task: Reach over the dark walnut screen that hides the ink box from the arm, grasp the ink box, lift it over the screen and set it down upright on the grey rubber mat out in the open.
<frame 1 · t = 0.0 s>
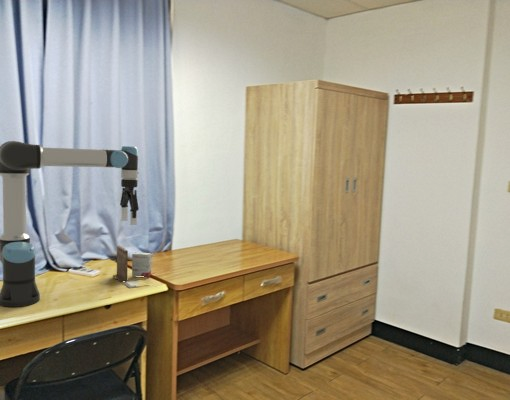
hand: (128, 222, 225), 28 cm above the table, fingers open, 13 cm apart
screen: (121, 278, 229), on the table
ink box: (141, 276, 234), on the table
mat: (135, 284, 220), on the table
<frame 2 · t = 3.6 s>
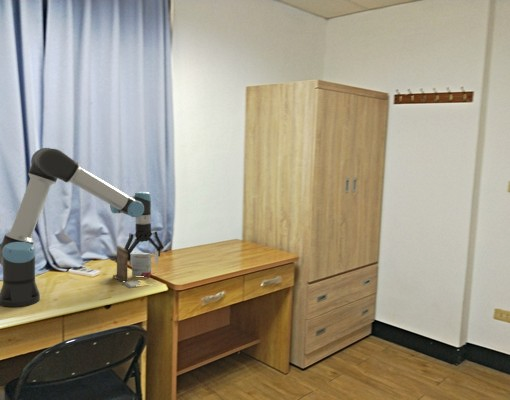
hand: (143, 264, 234), 6 cm above the table, fingers open, 13 cm apart
nothing on the table moved.
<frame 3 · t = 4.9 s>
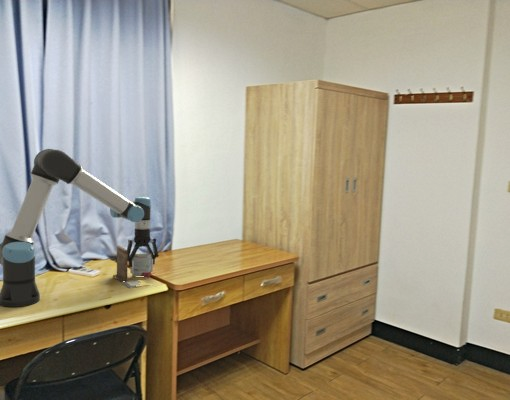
hand: (141, 272, 234), 2 cm above the table, fingers closed on ink box, 9 cm apart
ink box: (141, 276, 234), on the table, touching gripper
when the fingers open (4 cm above the table, at t = 12.2 s): ink box drops 1 cm, resting on mat.
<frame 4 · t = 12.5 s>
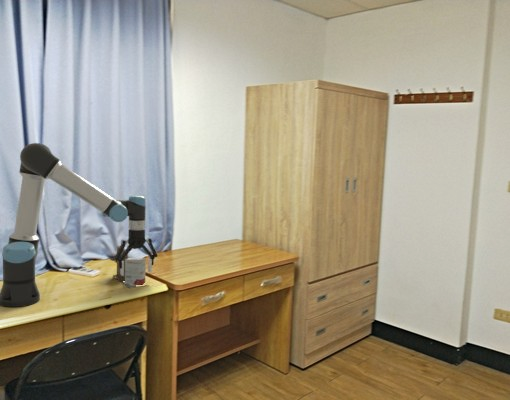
hand: (136, 273, 220), 5 cm above the table, fingers open, 13 cm apart
ink box: (135, 283, 220), resting on mat
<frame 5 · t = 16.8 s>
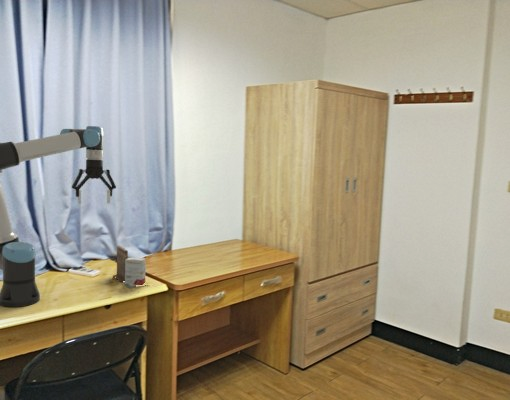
hand: (94, 203, 223), 37 cm above the table, fingers open, 13 cm apart
nothing on the table moved.
at the end: ink box inside the target area on the mat (0.3 cm from its centre), point 0.3 cm above the mat's base; ink box tilted 0°; the gripper is holding nothing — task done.
